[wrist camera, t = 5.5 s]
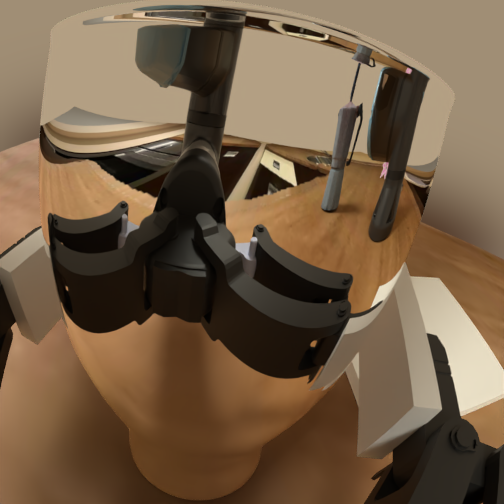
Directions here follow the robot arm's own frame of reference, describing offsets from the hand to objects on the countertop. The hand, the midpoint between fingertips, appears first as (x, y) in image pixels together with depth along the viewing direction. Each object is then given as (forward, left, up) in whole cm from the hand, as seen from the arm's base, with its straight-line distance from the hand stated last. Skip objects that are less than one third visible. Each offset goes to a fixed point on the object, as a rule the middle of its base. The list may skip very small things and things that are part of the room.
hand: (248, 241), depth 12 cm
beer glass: (+2, +4, -9) cm, 10 cm away
